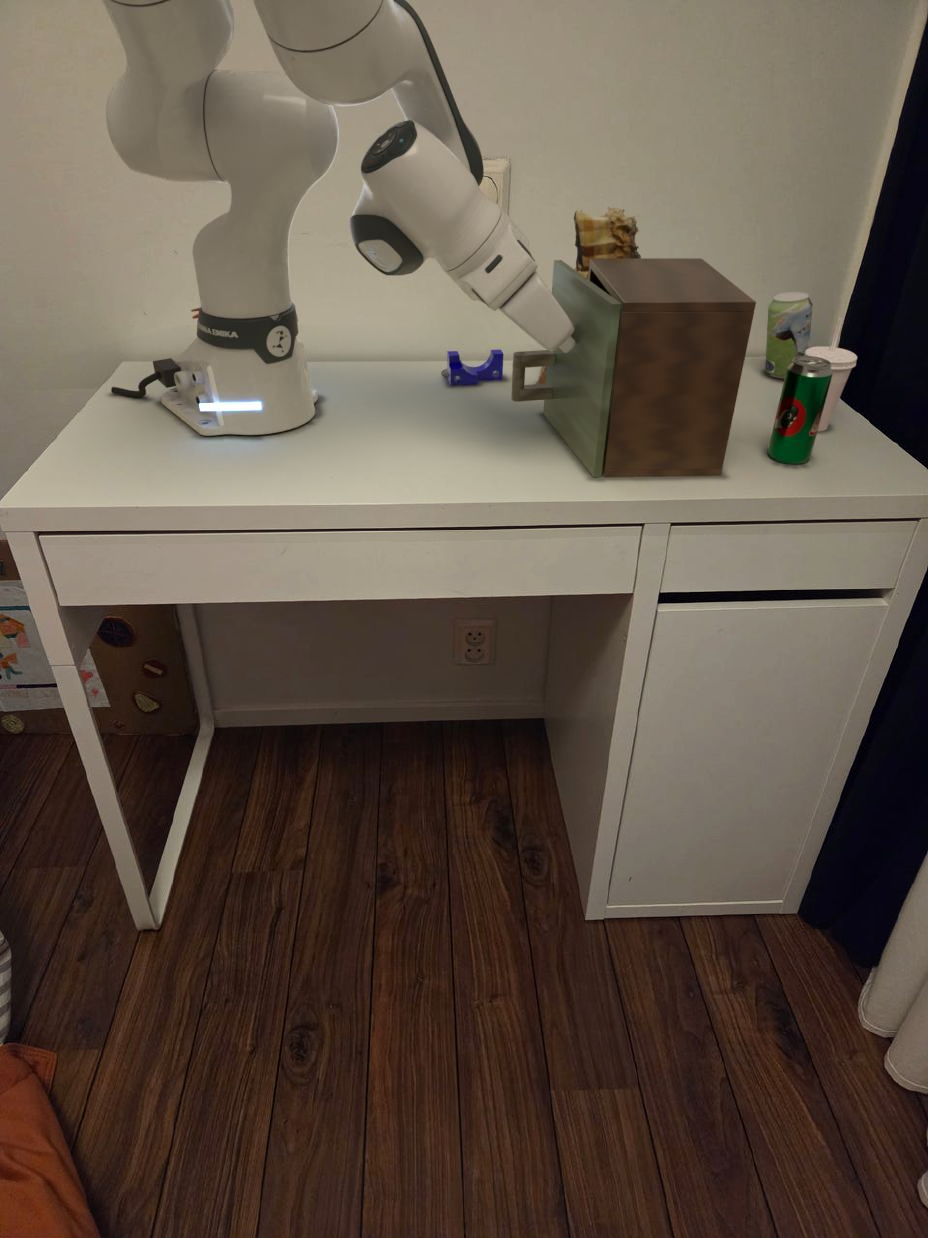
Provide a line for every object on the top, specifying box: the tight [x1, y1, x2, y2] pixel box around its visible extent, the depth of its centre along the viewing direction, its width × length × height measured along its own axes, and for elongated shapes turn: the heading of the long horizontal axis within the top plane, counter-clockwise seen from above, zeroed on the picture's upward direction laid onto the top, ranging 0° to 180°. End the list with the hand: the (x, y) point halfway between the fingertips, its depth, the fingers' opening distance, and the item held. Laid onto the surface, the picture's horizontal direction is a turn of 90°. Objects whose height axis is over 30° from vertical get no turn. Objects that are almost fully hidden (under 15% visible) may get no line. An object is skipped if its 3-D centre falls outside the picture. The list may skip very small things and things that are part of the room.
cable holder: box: [446, 348, 504, 387], centre depth 125 cm, size 8×4×4 cm, turn 99°
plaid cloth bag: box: [535, 206, 642, 384], centre depth 119 cm, size 14×14×25 cm
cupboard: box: [588, 257, 757, 479], centre depth 102 cm, size 14×20×20 cm
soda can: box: [767, 356, 833, 466], centre depth 101 cm, size 5×5×12 cm
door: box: [510, 259, 621, 478], centre depth 101 cm, size 6×20×20 cm, turn 13°
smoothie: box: [804, 316, 858, 433], centre depth 109 cm, size 6×6×14 cm
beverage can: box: [764, 291, 813, 380], centre depth 126 cm, size 6×7×12 cm
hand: (566, 343), depth 101 cm, fingers closed
